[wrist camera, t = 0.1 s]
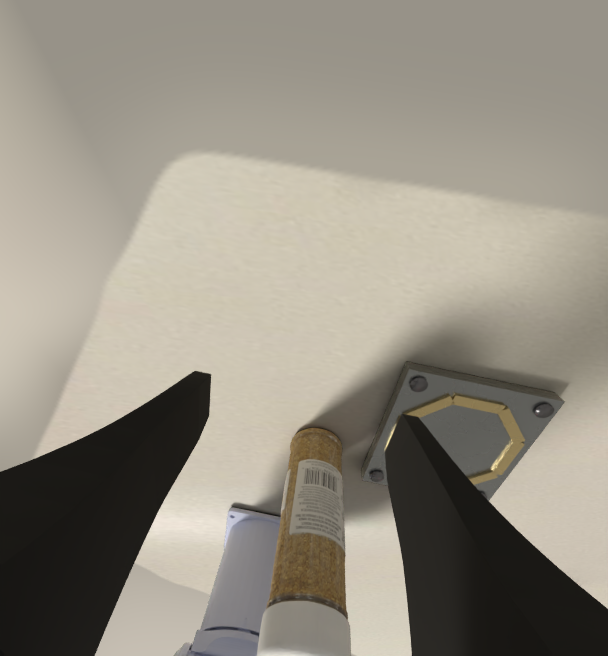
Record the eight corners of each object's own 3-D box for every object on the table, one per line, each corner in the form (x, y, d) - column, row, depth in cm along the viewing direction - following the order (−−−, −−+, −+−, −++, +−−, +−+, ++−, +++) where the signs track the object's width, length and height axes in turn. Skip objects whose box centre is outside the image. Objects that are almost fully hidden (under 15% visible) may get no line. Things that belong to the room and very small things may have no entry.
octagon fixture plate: (465, 514, 28) (470, 527, 27) (352, 490, 28) (353, 503, 27) (555, 392, 21) (567, 403, 20) (406, 361, 21) (410, 371, 20)
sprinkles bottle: (281, 447, 26) (237, 671, 14) (310, 416, 24) (287, 645, 12) (323, 469, 27) (314, 700, 15) (354, 442, 25) (373, 680, 13)
